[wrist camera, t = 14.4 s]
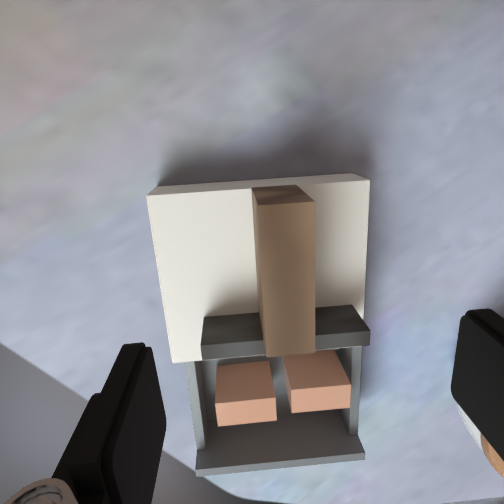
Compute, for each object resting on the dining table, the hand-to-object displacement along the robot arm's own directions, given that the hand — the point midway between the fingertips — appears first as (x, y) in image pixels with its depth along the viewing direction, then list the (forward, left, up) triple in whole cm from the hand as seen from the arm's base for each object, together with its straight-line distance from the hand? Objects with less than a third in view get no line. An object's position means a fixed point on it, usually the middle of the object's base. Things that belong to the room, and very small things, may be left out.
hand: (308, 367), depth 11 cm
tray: (-1, +17, -21) cm, 27 cm away
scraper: (-1, +2, -17) cm, 17 cm away
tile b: (+2, +15, -18) cm, 23 cm away
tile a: (-4, +14, -18) cm, 23 cm away
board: (0, +4, -21) cm, 21 cm away
